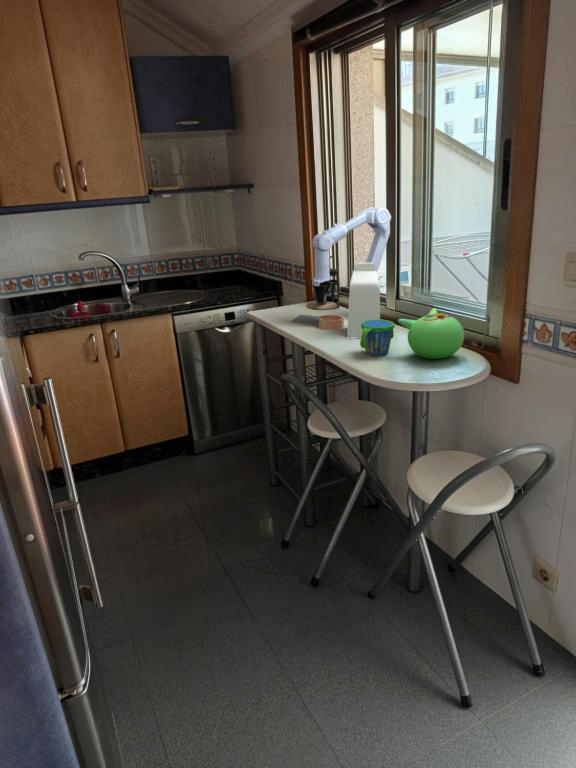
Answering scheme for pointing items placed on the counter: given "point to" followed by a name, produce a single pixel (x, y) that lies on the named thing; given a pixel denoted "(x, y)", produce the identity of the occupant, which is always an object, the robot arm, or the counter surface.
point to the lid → (321, 305)
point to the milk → (363, 298)
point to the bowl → (331, 322)
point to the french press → (332, 286)
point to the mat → (306, 319)
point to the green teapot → (434, 335)
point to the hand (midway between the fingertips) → (322, 301)
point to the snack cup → (377, 336)
